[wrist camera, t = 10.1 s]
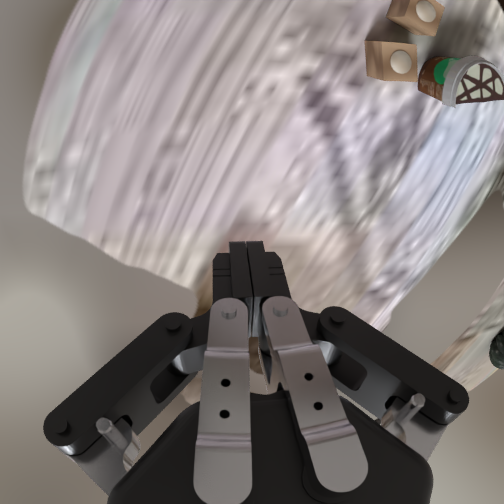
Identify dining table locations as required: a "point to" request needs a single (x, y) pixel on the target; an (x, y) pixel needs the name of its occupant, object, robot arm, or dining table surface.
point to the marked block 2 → (391, 61)
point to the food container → (461, 80)
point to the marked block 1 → (416, 15)
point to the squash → (497, 351)
